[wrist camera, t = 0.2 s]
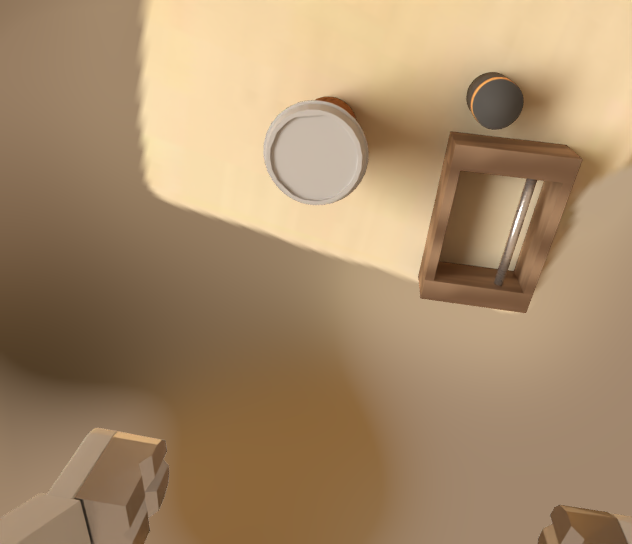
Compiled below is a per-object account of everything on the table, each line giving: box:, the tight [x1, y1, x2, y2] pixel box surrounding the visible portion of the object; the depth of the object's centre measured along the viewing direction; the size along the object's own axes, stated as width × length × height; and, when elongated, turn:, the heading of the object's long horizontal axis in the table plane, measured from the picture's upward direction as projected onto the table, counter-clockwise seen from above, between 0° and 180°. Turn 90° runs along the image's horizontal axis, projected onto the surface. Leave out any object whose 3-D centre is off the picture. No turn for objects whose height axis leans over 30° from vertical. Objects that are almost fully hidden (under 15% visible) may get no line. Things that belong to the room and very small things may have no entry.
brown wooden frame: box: [418, 132, 583, 313], centre depth 54 cm, size 18×12×5 cm, turn 175°
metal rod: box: [494, 179, 537, 286], centre depth 53 cm, size 15×1×1 cm, turn 175°
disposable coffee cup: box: [264, 97, 368, 205], centre depth 48 cm, size 10×10×12 cm
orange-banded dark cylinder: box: [466, 72, 523, 129], centre depth 48 cm, size 4×4×5 cm
